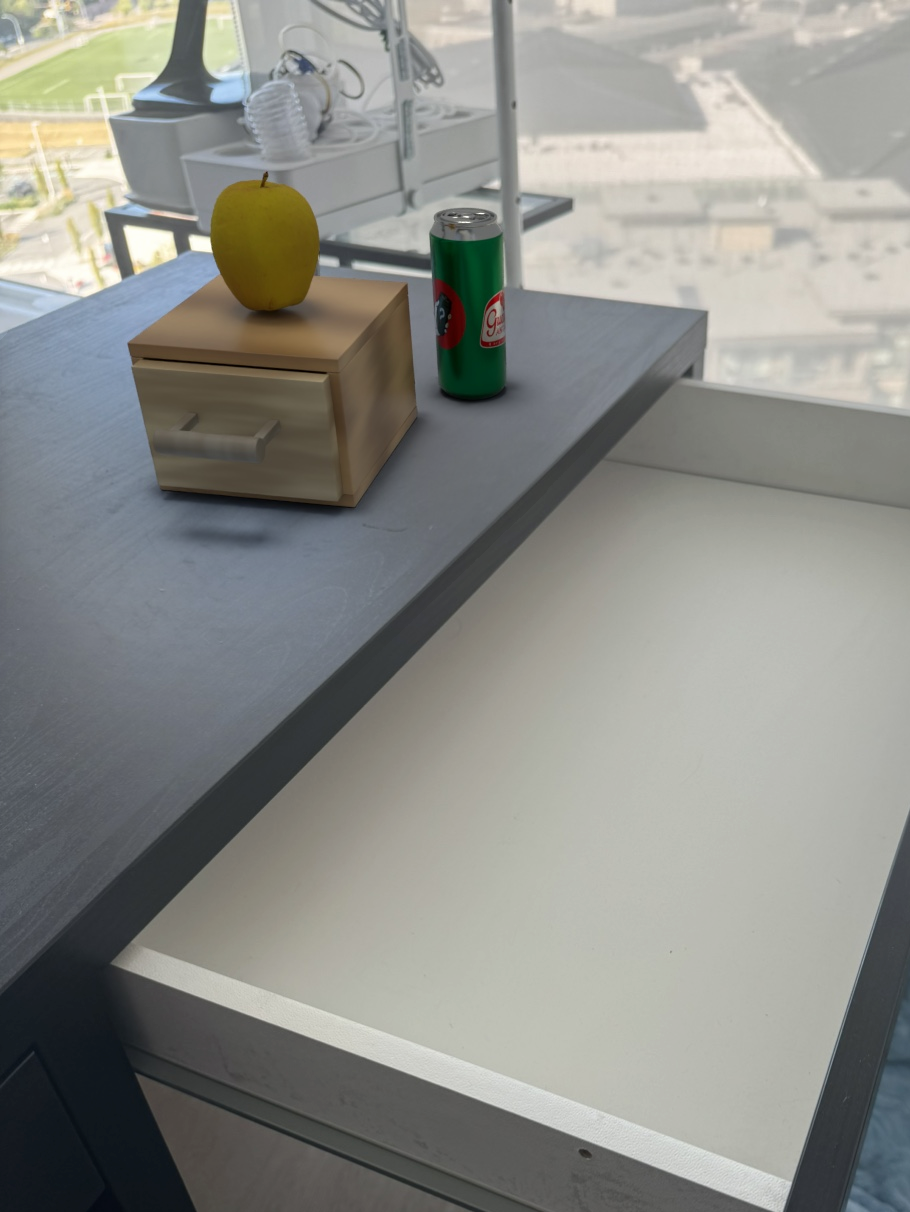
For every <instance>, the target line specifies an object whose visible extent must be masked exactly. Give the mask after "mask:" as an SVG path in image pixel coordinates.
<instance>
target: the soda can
mask: <svg viewBox="0 0 910 1212" xmlns="http://www.w3.org/2000/svg"><path fill="white" fill-rule="evenodd" d="M433 221H434V222H433V224H432V226H431V228H430V230H429V233H428V236H429V251H430V252H429V253H430V254H429V255H430V267H431V269H430V271H431V284H432V299H433V315H434V331H435V332H434V333H435V335H434V336H435V349H436V365H437V380H438V385H439V386H440V388H441V389H442V390H443V392H445V393H446V394H447V395H449V396H451V397H453V398H456V399H460V400H468V401H470V400H471V401H474V400H475V401H476V400H485V399H489V398H492V397H494V396H497V395H499V394H500V393H501V392H502V391H503V390H504V388H505V387H506V385H507V384H508V377H507V375H508V374H507V371H508V370H507V341H506V340H507V337H506V333H507V332H506V330H507V329H506V295H505V293H506V292H505V291H506V290H505V288H506V287H505V251H504V249H505V248H504V231H503V230H502V228H501V226H500V225H499V223H498V215H497V213H495V212H494V211H491V210H489V209H484V208H479V207H478V208H477V207H452V208H446V209H443V210H440V211H437V212H436V213H435V214H434V215H433Z"/></svg>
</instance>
